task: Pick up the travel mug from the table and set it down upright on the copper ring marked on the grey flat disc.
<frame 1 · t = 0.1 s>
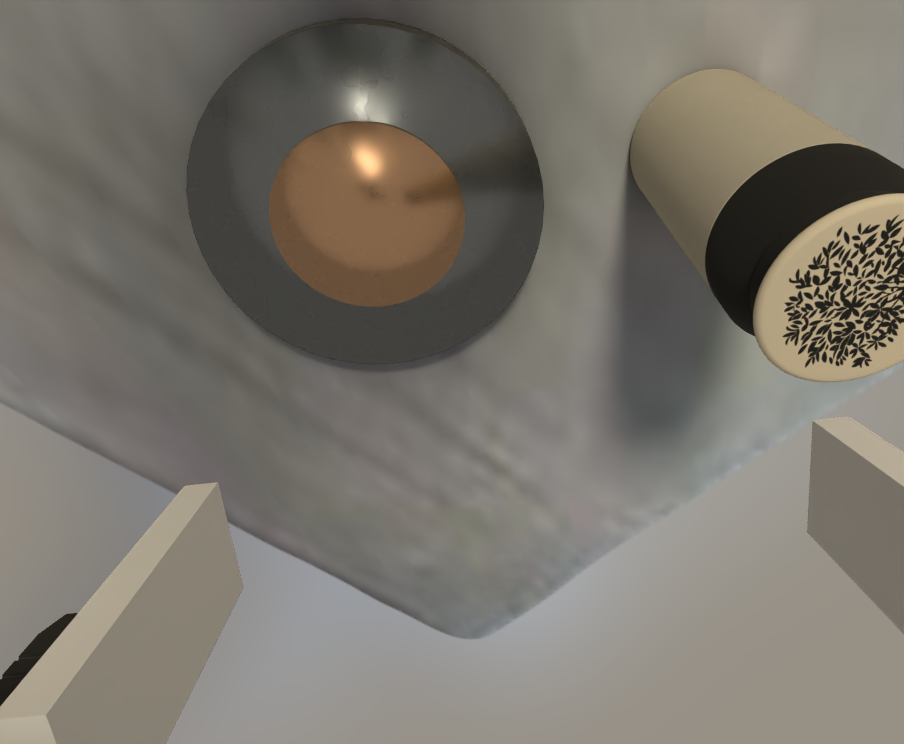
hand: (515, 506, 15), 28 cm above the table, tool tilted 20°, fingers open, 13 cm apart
grey flat disc: (370, 206, 40), on the table
travel mug: (697, 141, 38), on the table
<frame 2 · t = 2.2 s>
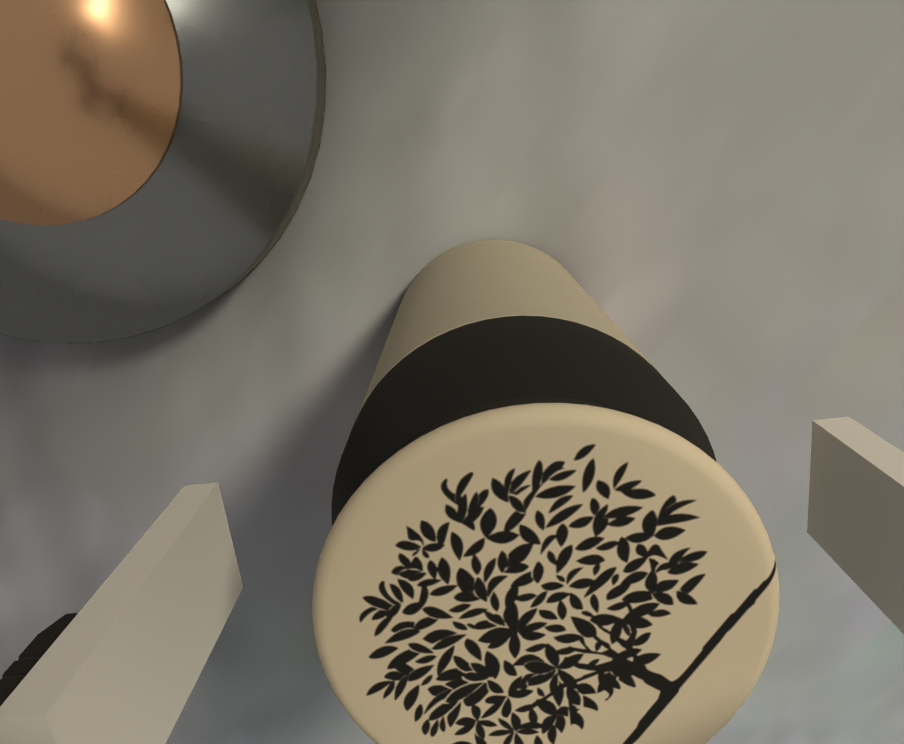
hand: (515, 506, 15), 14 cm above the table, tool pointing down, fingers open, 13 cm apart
grey flat disc: (54, 66, 25), on the table
travel mug: (492, 334, 28), on the table
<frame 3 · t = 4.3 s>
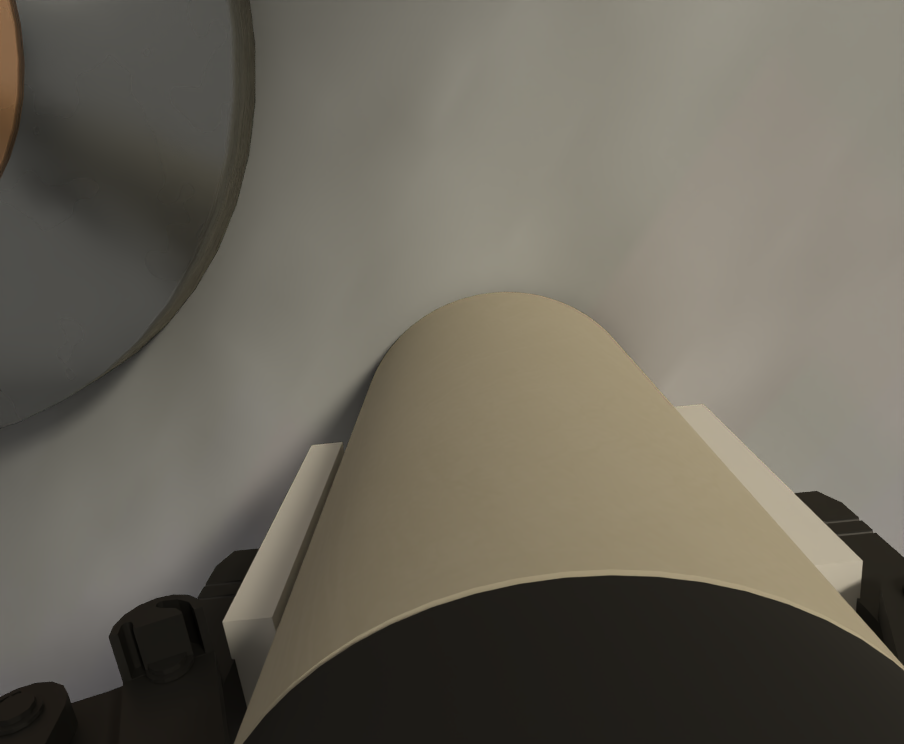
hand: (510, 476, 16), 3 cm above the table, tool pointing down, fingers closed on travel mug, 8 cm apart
travel mug: (502, 423, 20), on the table, touching gripper
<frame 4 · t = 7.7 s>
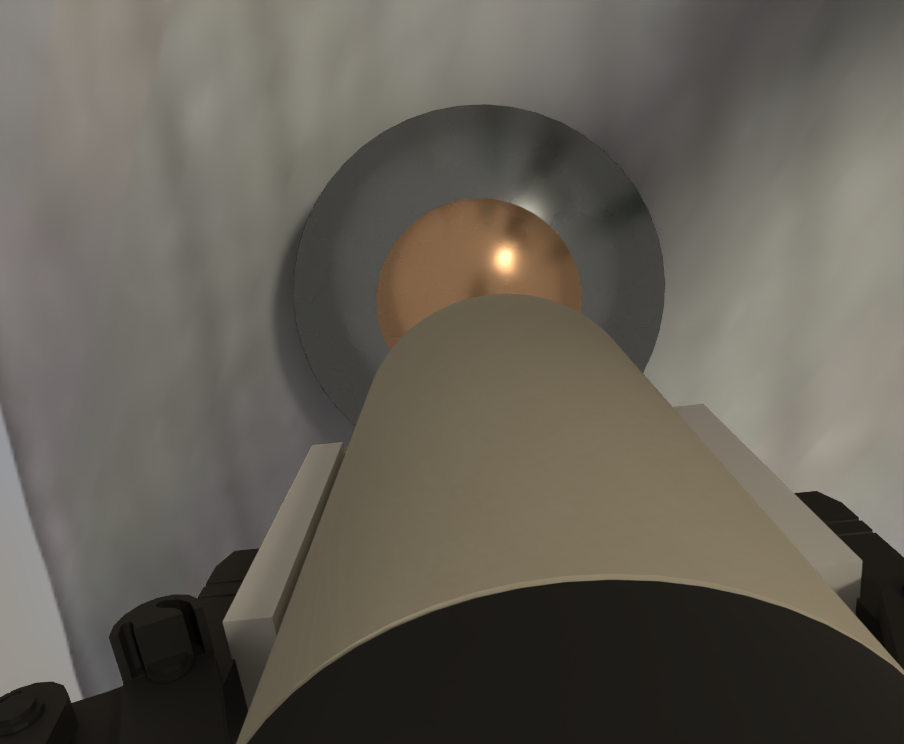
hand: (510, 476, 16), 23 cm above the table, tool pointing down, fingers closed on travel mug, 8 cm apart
grey flat disc: (477, 296, 38), on the table
travel mug: (502, 424, 20), point 20 cm above the table, touching gripper
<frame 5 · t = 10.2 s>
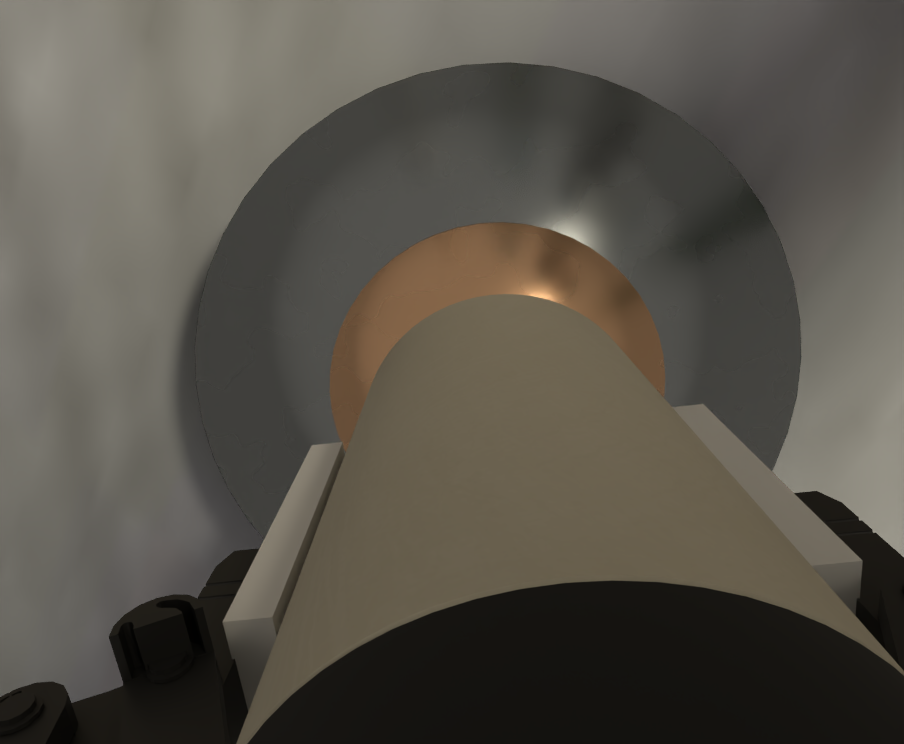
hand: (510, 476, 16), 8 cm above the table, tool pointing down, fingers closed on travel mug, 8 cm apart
grey flat disc: (493, 372, 24), on the table
travel mug: (502, 424, 20), point 5 cm above the table, touching gripper
when the fingers open (7 cm above the table, at t = 11.6 s): travel mug drops 2 cm, resting on grey flat disc.
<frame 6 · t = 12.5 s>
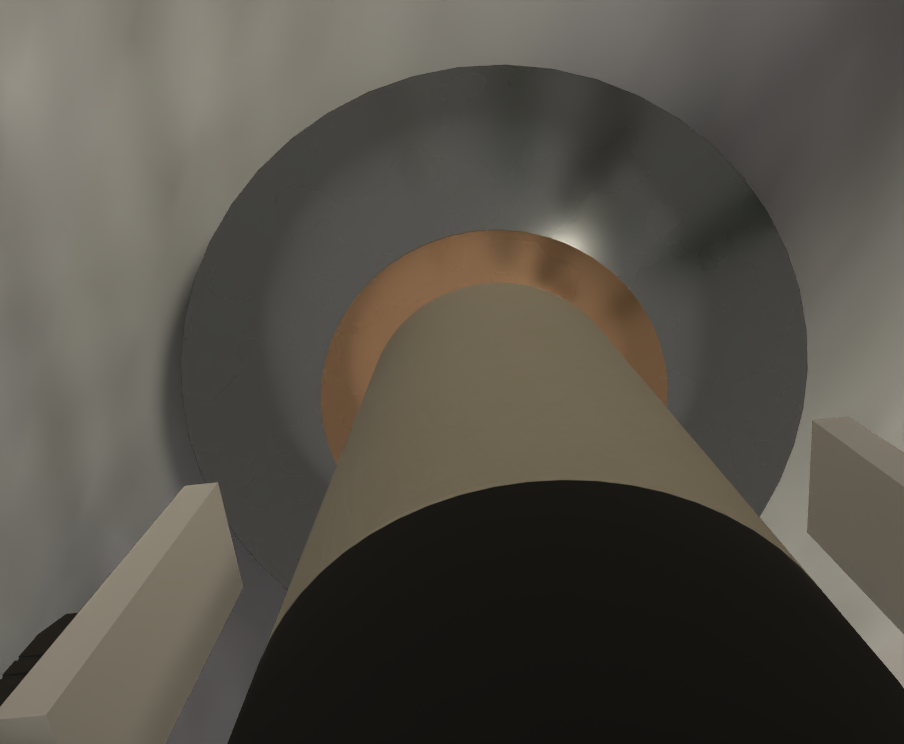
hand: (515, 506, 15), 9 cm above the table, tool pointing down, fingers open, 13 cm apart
grey flat disc: (489, 383, 24), on the table
travel mug: (495, 402, 22), point 2 cm above the table, touching grey flat disc
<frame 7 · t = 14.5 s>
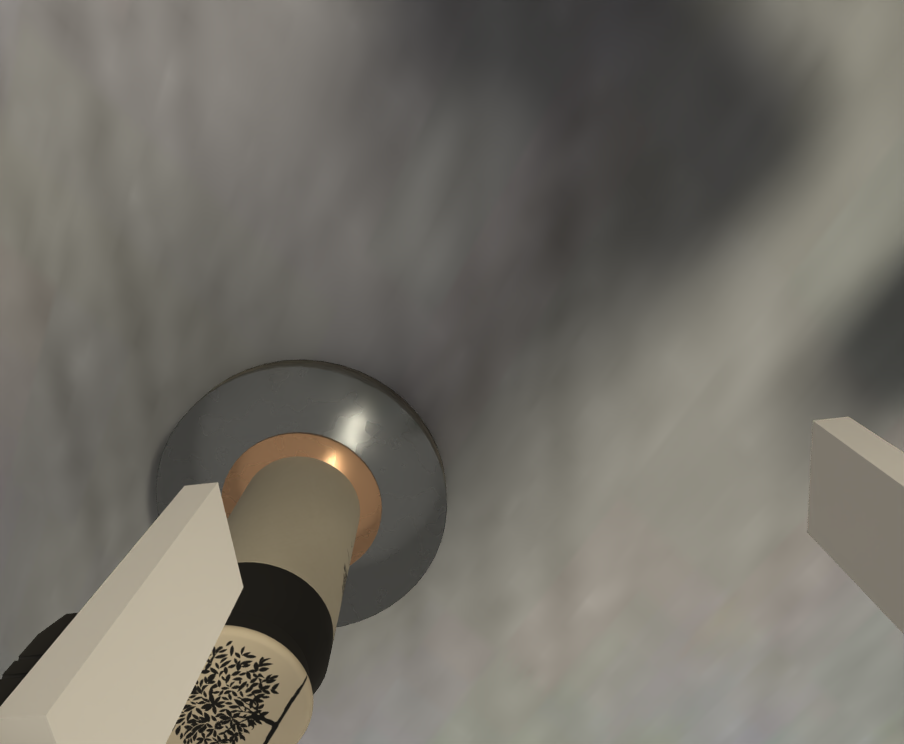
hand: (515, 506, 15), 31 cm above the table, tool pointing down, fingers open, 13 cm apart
grey flat disc: (307, 493, 49), on the table
travel mug: (303, 506, 47), point 2 cm above the table, touching grey flat disc
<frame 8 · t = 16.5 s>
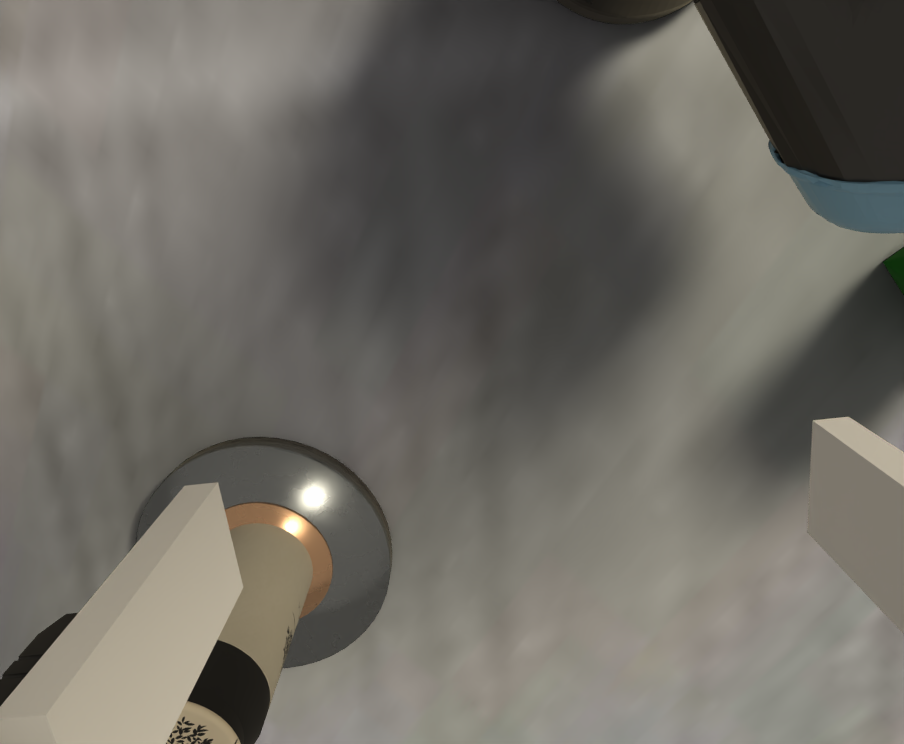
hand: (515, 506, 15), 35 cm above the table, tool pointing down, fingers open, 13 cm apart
grey flat disc: (270, 550, 55), on the table
travel mug: (263, 564, 53), point 2 cm above the table, touching grey flat disc
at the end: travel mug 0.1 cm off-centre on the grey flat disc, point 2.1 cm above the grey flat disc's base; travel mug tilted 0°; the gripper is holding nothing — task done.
